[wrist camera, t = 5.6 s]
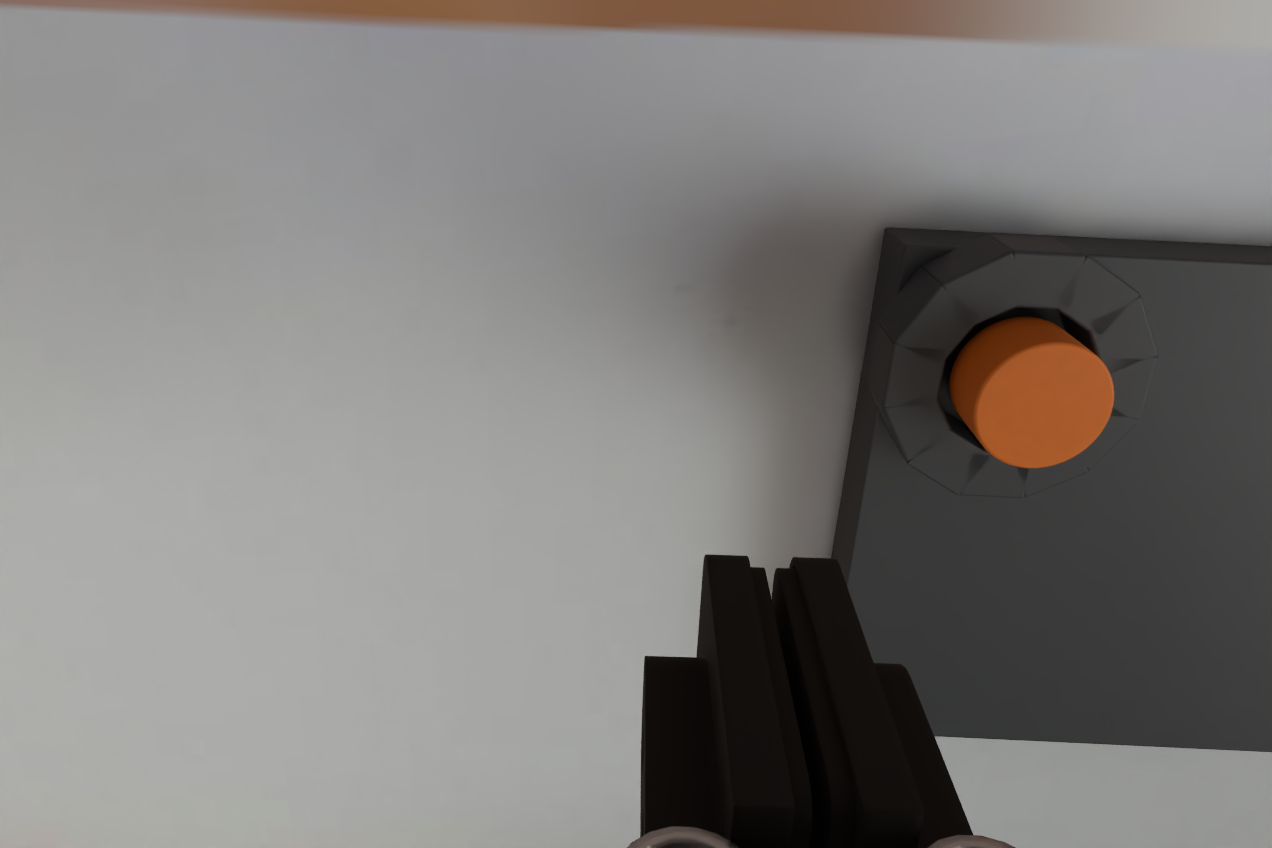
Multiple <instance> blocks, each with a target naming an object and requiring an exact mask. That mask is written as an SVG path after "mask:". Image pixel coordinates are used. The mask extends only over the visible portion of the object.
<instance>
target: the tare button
mask: <svg viewBox="0 0 1272 848" xmlns="http://www.w3.org/2000/svg"><path fill="white" fill-rule="evenodd" d="M949 389H950V396H951V400H952V403H953V406H954V408H955V410H956V412H957V413H958V414H959V416H960V417H961V418H962V420H963V421H964V422H965V424H966V425H967V426H968V428H969V429H970V430H971V432H972V433H973V434H974V435H975V437H976V438H977V439H978V441H979V442H980V443H981V445H982V446H983V447H984V448H985V449H986V450H987V451H988V452H989V454H991V455H992V456H993V457H995V458H996V459H998V460H1000V461H1002V462H1004V463H1006V464H1009V465H1012V466H1016V467H1022V468H1043V467H1049V466H1053V465H1056V464H1059V463H1062V462H1065V461H1067V460H1069V459H1071V458H1073V457H1075V456H1076V455H1078V454H1080V453H1081V452H1082V451H1084V450H1085V449H1086V448H1087V447H1089V446H1090V445H1091V444H1092V443H1093V442H1094V441H1095V440H1096V438H1097V437H1098V436H1099V435H1100V434H1101V432H1102V431H1103V429H1104V428H1105V426H1106V424H1107V422H1108V420H1109V418H1110V415H1111V412H1112V408H1113V404H1114V385H1113V381H1112V377H1111V375H1110V372H1109V370H1108V368H1107V367H1106V365H1105V364H1104V362H1103V361H1102V360H1101V359H1100V358H1099V357H1098V356H1097V355H1096V354H1094V353H1093V352H1092V351H1091V350H1089V349H1088V348H1087V347H1085V346H1084V345H1083V344H1081V343H1080V342H1079V341H1077V340H1076V339H1075V338H1074V337H1072V336H1071V335H1070V334H1068V333H1067V332H1066V331H1064V330H1063V329H1062V328H1060V327H1059V326H1057V325H1056V324H1054V323H1052V322H1050V321H1047V320H1045V319H1041V318H1036V317H1015V318H1009V319H1005V320H1002V321H999V322H996V323H994V324H992V325H990V326H988V327H986V328H984V329H983V330H981V331H980V332H978V333H977V334H976V335H975V336H974V337H972V338H971V339H970V340H969V341H968V342H967V343H966V345H965V346H964V347H963V349H962V350H961V351H960V353H959V355H958V356H957V358H956V360H955V362H954V365H953V368H952V371H951V375H950V382H949Z"/></svg>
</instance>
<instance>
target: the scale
mask: <svg viewBox="0 0 1272 848" xmlns="http://www.w3.org/2000/svg"><path fill="white" fill-rule="evenodd" d="M1015 317H1036V318H1041V319H1045V320H1047V321H1050V322H1052V323H1054V324H1056V325H1057V326H1059V327H1060V328H1062V329H1063V330H1064V331H1066V332H1067V333H1068V334H1070V335H1071V336H1072V337H1074V338H1075V339H1076V340H1077V341H1079V342H1080V343H1081V344H1083V345H1084V346H1085V347H1087V348H1088V349H1089V350H1091V351H1092V352H1093V353H1094V354H1096V355H1097V356H1098V357H1099V358H1100V359H1101V360H1102V361H1103V362H1104V364H1105V365H1106V367H1107V368H1108V370H1109V372H1110V375H1111V377H1112V381H1113V385H1114V404H1113V408H1112V412H1111V415H1110V418H1109V420H1108V422H1107V424H1106V426H1105V428H1104V429H1103V431H1102V432H1101V434H1100V435H1099V436H1098V437H1097V438H1096V440H1095V441H1094V442H1093V443H1092V444H1091V445H1090V446H1089V447H1087V448H1086V449H1085V450H1084V451H1082V452H1081V453H1080V454H1078V455H1076V456H1075V457H1073V458H1071V459H1069V460H1067V461H1065V462H1062V463H1059V464H1056V465H1053V466H1049V467H1043V468H1022V467H1016V466H1012V465H1009V464H1006V463H1004V462H1002V461H1000V460H998V459H996V458H995V457H993V456H992V455H991V454H989V452H988V451H987V450H986V449H985V448H984V447H983V446H982V445H981V443H980V442H979V441H978V439H977V438H976V437H975V435H974V434H973V433H972V432H971V430H970V429H969V428H968V426H967V425H966V424H965V422H964V421H963V420H962V418H961V417H960V416H959V414H958V413H957V412H956V410H955V408H954V406H953V403H952V400H951V396H950V389H949V382H950V375H951V371H952V368H953V365H954V362H955V360H956V358H957V356H958V355H959V353H960V351H961V350H962V349H963V347H964V346H965V345H966V343H967V342H968V341H969V340H970V339H971V338H972V337H974V336H975V335H976V334H977V333H978V332H980V331H981V330H983V329H984V328H986V327H988V326H990V325H992V324H994V323H996V322H999V321H1002V320H1005V319H1009V318H1015ZM832 559H837V561H838V563H839V565H840V568H841V570H842V573H843V576H844V579H845V582H846V585H847V588H848V591H849V593H850V596H851V599H852V602H853V605H854V608H855V611H856V613H857V616H858V619H859V622H860V625H861V628H862V631H863V634H864V636H865V639H866V642H867V645H868V648H869V651H870V654H871V657H872V659H873V662H874V663H889V664H902V665H903V666H904V667H906V669H907V671H908V673H909V675H910V677H911V679H912V682H913V684H914V687H915V689H916V692H917V694H918V697H919V699H920V702H921V704H922V707H923V709H924V712H925V714H926V717H927V720H928V722H929V725H930V727H931V730H932V732H933V735H934V736H943V737H964V738H985V739H1006V740H1027V741H1049V742H1070V743H1091V744H1112V745H1133V746H1154V747H1176V748H1197V749H1218V750H1239V751H1260V752H1272V247H1268V246H1248V245H1228V244H1208V243H1188V242H1168V241H1148V240H1128V239H1108V238H1088V237H1068V236H1048V235H1028V234H1008V233H988V232H968V231H948V230H928V229H908V228H885V230H884V237H883V243H882V249H881V255H880V261H879V268H878V274H877V280H876V286H875V292H874V299H873V305H872V311H871V317H870V323H869V330H868V336H867V342H866V348H865V354H864V361H863V367H862V373H861V379H860V385H859V391H858V398H857V404H856V410H855V416H854V422H853V429H852V435H851V441H850V447H849V453H848V460H847V466H846V472H845V478H844V484H843V491H842V497H841V503H840V509H839V515H838V522H837V528H836V534H835V540H834V546H833V553H832Z"/></svg>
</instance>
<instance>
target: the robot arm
mask: <svg viewBox="0 0 1272 848" xmlns="http://www.w3.org/2000/svg"><path fill="white" fill-rule="evenodd" d="M627 848H1015V847H1013V846H1011V845H1009V844H1007V843H1005V842H1002V841H998V840H995V839H991V838H987V837H984V836H977V835H973V833H972V831H971V828H970V826H969V823H968V821H967V818H966V816H965V813H964V810H963V808H962V805H961V803H960V800H959V798H958V795H957V793H956V790H955V788H954V785H953V783H952V780H951V778H950V775H949V773H948V770H947V768H946V765H945V762H944V760H943V757H942V755H941V752H940V750H939V747H938V745H937V742H936V740H935V737H934V735H933V732H932V730H931V727H930V725H929V722H928V720H927V717H926V714H925V712H924V709H923V707H922V704H921V702H920V699H919V697H918V694H917V692H916V689H915V687H914V684H913V682H912V679H911V677H910V675H909V673H908V671H907V669H906V667H904V666H903V665H902V664H889V663H874V662H873V659H872V657H871V654H870V651H869V648H868V645H867V642H866V639H865V636H864V634H863V631H862V628H861V625H860V622H859V619H858V616H857V613H856V611H855V608H854V605H853V602H852V599H851V596H850V593H849V591H848V588H847V585H846V582H845V579H844V576H843V573H842V570H841V568H840V565H839V563H838V561H837V559H830V558H798V557H793V558H792V560H791V563H790V568H777V569H776V571H775V574H774V582H773V591H772V599H771V595H770V591H769V586H768V581H767V576H766V572H765V569H764V568H756V567H750V562H749V558H748V557H747V556H732V555H705V557H704V565H703V577H702V591H701V605H700V619H699V633H698V646H697V658H691V657H658V656H645V661H644V682H643V707H642V740H641V832H640V838H639V839H637V840H635V841H634V842H632V843H631V844H630V845H629V846H628V847H627Z"/></svg>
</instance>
